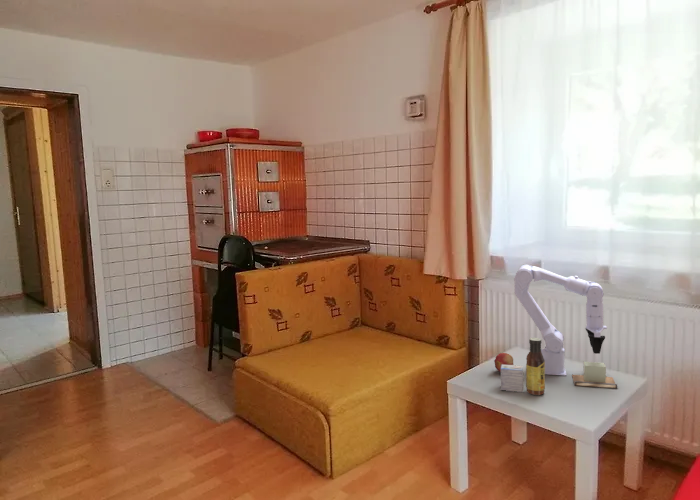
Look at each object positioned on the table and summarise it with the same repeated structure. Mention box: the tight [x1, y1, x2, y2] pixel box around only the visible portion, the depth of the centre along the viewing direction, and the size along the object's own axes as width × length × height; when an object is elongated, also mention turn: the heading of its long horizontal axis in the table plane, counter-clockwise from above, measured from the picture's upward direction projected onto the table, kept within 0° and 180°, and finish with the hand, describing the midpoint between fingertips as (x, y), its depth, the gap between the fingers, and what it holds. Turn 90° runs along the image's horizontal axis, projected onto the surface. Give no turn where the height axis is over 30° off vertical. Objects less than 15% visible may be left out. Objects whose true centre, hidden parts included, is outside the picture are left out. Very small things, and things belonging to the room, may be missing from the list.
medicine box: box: [500, 364, 524, 393], centre depth 184 cm, size 8×4×9 cm, turn 71°
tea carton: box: [582, 361, 607, 383], centre depth 188 cm, size 4×7×6 cm, turn 72°
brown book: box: [571, 374, 618, 390], centre depth 187 cm, size 14×9×2 cm, turn 72°
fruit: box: [493, 352, 515, 373], centre depth 199 cm, size 8×8×8 cm
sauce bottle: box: [525, 337, 546, 396], centre depth 180 cm, size 7×6×20 cm
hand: (595, 349), depth 192 cm, fingers open, 7 cm apart
